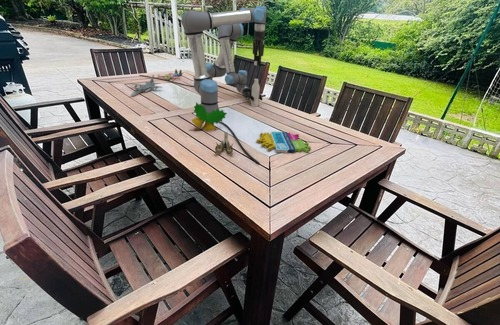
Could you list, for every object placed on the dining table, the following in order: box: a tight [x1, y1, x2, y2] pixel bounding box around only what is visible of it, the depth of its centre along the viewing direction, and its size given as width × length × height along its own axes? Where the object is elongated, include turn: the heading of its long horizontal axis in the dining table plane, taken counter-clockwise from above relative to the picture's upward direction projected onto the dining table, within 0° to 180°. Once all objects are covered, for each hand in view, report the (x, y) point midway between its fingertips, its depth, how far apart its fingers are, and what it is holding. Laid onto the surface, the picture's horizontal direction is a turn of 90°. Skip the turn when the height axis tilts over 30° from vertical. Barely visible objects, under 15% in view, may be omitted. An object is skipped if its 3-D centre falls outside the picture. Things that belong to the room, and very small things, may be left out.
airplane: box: [128, 74, 161, 97], centre depth 228 cm, size 38×31×10 cm
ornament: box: [191, 102, 228, 132], centre depth 162 cm, size 21×8×15 cm, turn 105°
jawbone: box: [214, 131, 234, 156], centre depth 136 cm, size 9×15×10 cm
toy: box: [156, 69, 183, 81], centre depth 280 cm, size 28×7×30 cm
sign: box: [256, 131, 312, 154], centre depth 152 cm, size 26×2×30 cm
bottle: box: [250, 78, 261, 107], centre depth 210 cm, size 6×6×21 cm
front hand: (257, 64), depth 199 cm, fingers closed on cap, 4 cm apart
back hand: (257, 99), depth 208 cm, fingers closed on bottle, 7 cm apart
